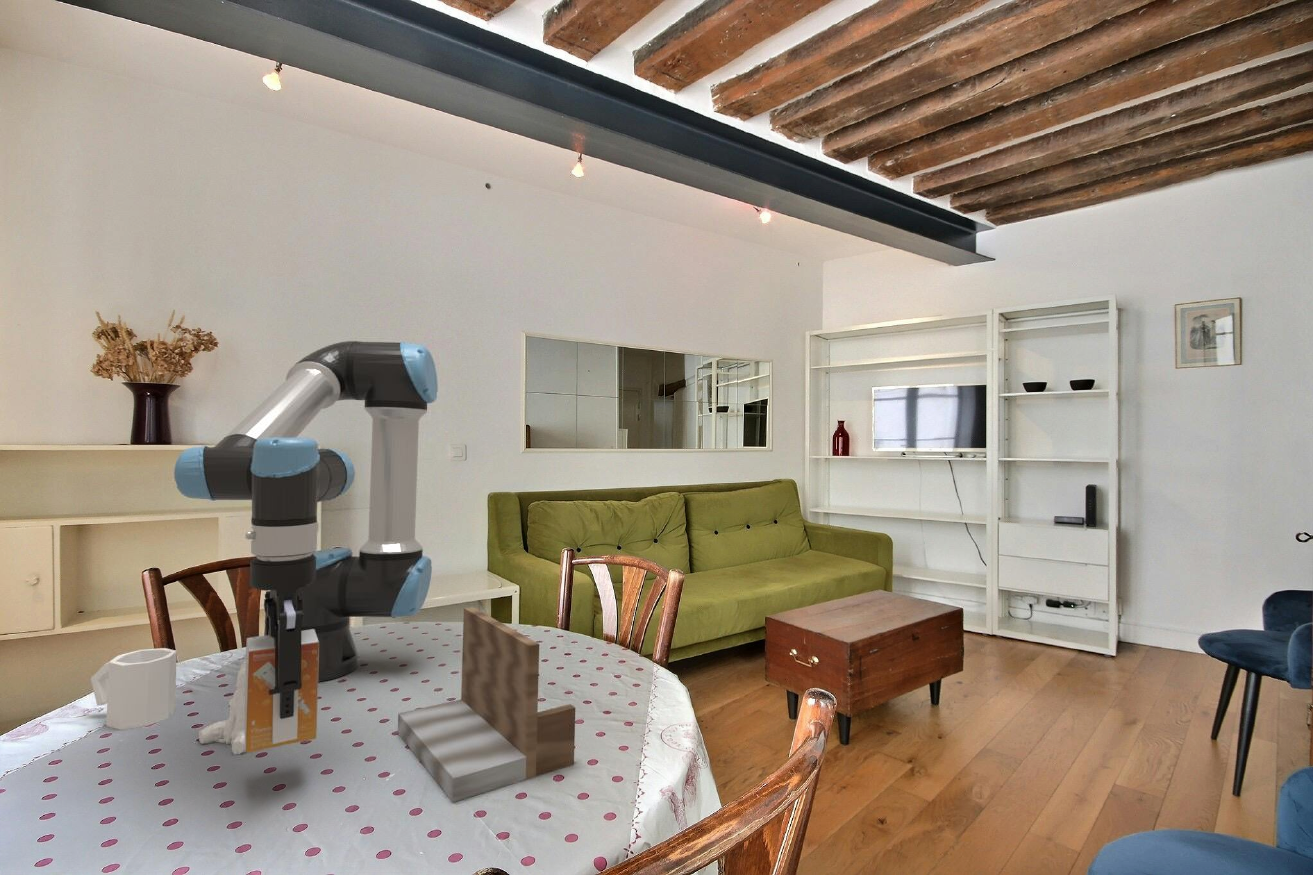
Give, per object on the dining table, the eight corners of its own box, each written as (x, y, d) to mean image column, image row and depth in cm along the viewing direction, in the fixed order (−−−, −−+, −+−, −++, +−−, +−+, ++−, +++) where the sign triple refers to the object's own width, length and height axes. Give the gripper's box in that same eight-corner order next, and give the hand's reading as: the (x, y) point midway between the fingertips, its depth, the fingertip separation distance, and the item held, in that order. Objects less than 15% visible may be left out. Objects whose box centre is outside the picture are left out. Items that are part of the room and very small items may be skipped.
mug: (186, 708, 108) (188, 648, 108) (145, 730, 100) (147, 666, 100) (114, 705, 108) (117, 646, 108) (67, 728, 100) (70, 663, 100)
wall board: (397, 732, 101) (401, 616, 101) (503, 707, 112) (506, 602, 112) (452, 802, 82) (457, 658, 82) (573, 764, 93) (577, 637, 93)
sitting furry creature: (193, 743, 96) (196, 662, 96) (249, 721, 104) (252, 645, 104) (238, 756, 92) (241, 671, 93) (292, 732, 100) (295, 654, 101)
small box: (244, 755, 81) (246, 651, 81) (243, 734, 86) (245, 636, 86) (318, 739, 85) (320, 640, 85) (312, 720, 91) (314, 627, 91)
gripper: (242, 545, 91) (239, 709, 91) (259, 572, 75) (255, 769, 76) (303, 541, 95) (300, 697, 96) (330, 565, 80) (326, 751, 80)
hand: (280, 729), depth 86 cm, fingers closed on small box, 6 cm apart
